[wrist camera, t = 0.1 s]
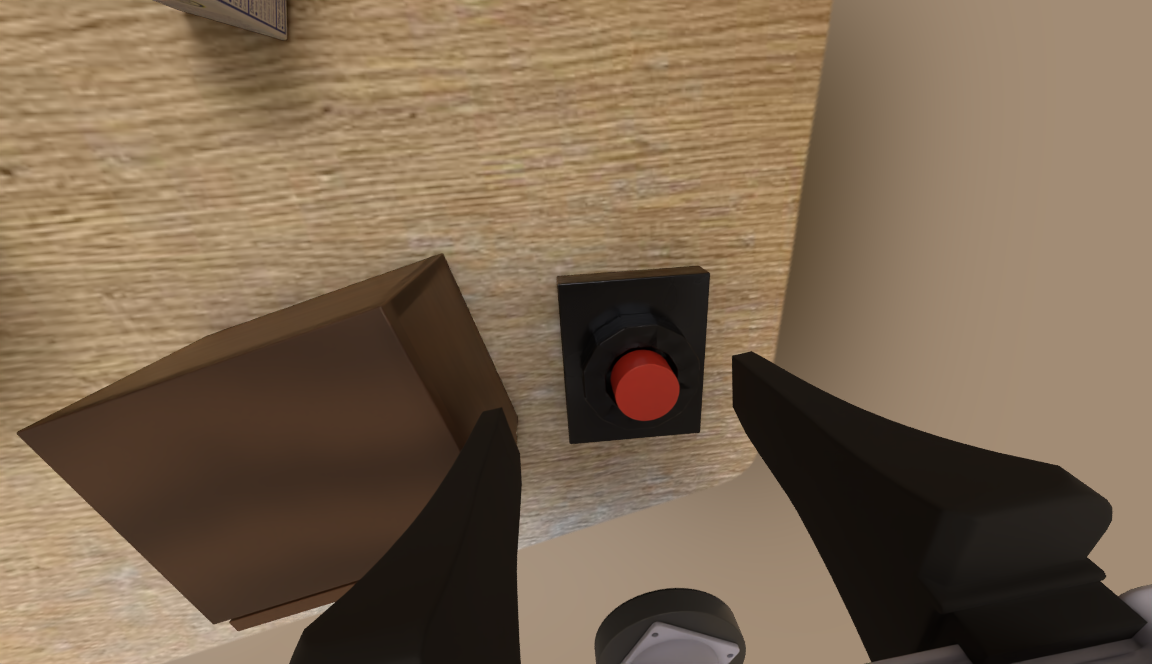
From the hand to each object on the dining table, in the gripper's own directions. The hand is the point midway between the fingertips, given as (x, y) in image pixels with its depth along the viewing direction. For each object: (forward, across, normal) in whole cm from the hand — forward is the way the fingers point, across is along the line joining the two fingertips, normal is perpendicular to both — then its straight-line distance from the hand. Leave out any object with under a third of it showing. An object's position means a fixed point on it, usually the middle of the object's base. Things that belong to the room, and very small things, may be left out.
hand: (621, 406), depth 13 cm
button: (+8, -2, +5) cm, 9 cm away
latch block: (+11, -2, +6) cm, 12 cm away
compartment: (+11, +13, +4) cm, 18 cm away
